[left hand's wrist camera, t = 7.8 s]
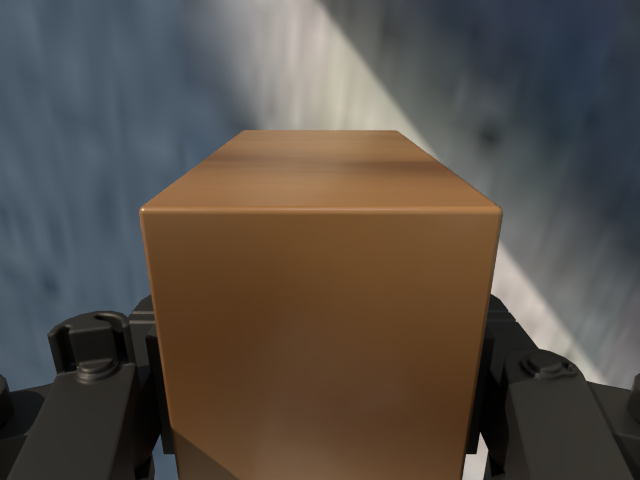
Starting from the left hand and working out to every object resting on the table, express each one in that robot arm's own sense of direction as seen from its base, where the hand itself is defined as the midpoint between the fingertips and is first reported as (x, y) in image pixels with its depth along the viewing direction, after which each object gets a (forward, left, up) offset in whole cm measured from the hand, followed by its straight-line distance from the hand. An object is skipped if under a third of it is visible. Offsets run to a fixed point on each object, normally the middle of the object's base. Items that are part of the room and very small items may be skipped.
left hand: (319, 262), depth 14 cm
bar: (+10, 0, -1) cm, 10 cm away
